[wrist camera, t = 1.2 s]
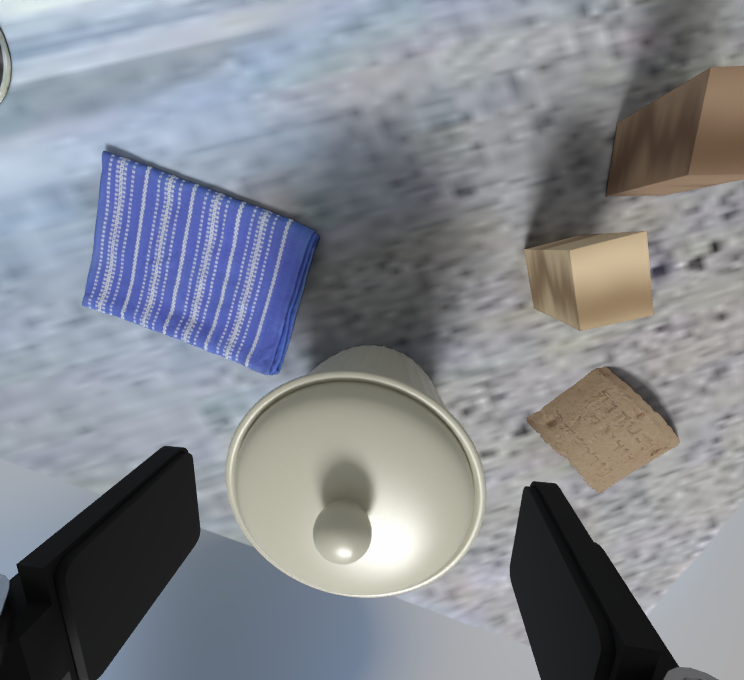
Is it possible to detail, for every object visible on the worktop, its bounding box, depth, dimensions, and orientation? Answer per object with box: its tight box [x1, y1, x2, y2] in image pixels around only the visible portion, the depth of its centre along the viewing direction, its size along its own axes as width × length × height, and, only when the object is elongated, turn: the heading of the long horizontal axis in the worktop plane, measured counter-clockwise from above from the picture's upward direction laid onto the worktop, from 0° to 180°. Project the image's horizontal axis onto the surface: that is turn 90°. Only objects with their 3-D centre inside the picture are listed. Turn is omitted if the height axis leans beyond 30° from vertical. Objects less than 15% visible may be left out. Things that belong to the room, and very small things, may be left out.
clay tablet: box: [527, 367, 680, 493], centre depth 37 cm, size 14×10×3 cm
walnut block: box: [606, 66, 744, 196], centre depth 27 cm, size 6×5×10 cm
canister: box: [226, 345, 486, 598], centre depth 30 cm, size 18×18×21 cm
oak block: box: [524, 231, 654, 331], centre depth 30 cm, size 6×5×10 cm
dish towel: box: [82, 151, 320, 375], centre depth 37 cm, size 17×24×3 cm
